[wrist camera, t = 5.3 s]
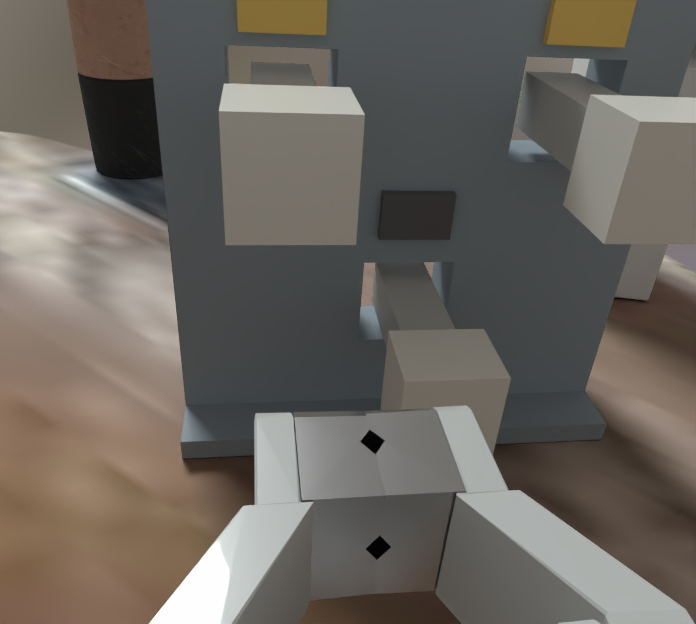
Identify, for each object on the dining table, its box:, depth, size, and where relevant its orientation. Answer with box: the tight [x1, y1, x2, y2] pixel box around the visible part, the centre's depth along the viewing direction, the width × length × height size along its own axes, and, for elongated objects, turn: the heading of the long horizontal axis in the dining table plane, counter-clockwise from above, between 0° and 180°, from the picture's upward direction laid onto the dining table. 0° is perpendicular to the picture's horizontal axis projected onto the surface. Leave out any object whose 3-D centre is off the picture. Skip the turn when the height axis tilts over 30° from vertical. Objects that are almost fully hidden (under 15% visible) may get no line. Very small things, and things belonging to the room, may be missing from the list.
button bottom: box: [372, 262, 511, 455], centre depth 26 cm, size 4×10×4 cm, turn 7°
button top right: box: [516, 72, 696, 244], centre depth 22 cm, size 4×10×4 cm, turn 7°
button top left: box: [219, 62, 365, 245], centre depth 21 cm, size 4×10×4 cm, turn 7°
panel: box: [145, 0, 696, 459], centre depth 28 cm, size 20×8×20 cm, turn 97°
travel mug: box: [67, 0, 163, 179], centre depth 55 cm, size 8×8×20 cm
